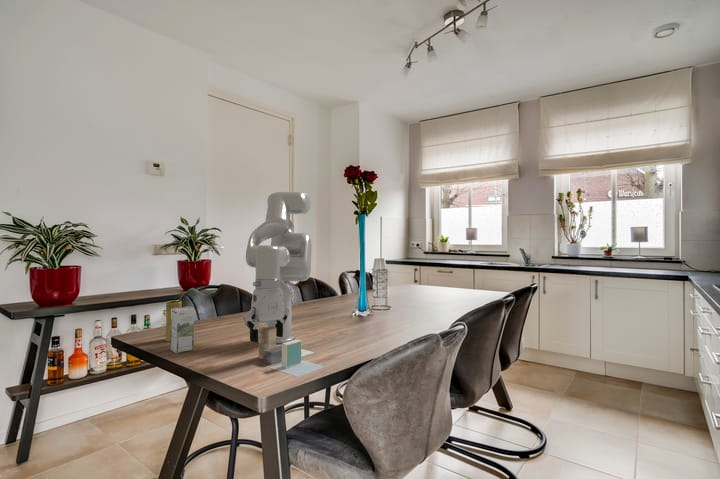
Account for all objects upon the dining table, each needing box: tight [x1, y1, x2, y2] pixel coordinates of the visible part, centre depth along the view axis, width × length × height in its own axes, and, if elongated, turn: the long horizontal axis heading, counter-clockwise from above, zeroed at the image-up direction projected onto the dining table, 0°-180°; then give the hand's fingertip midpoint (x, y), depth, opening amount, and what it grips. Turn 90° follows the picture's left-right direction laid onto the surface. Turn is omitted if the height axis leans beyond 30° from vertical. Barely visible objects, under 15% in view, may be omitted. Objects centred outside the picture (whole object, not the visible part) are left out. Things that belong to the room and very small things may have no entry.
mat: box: [269, 359, 325, 378], centre depth 114 cm, size 12×11×1 cm
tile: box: [281, 339, 303, 369], centre depth 115 cm, size 2×6×7 cm, turn 142°
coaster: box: [302, 349, 315, 358], centre depth 127 cm, size 7×6×1 cm
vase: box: [164, 300, 183, 343], centre depth 145 cm, size 6×6×14 cm
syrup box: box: [169, 306, 195, 354], centre depth 131 cm, size 6×6×14 cm
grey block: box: [257, 325, 282, 366], centre depth 121 cm, size 9×7×10 cm
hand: (266, 339), depth 121 cm, fingers open, 9 cm apart
